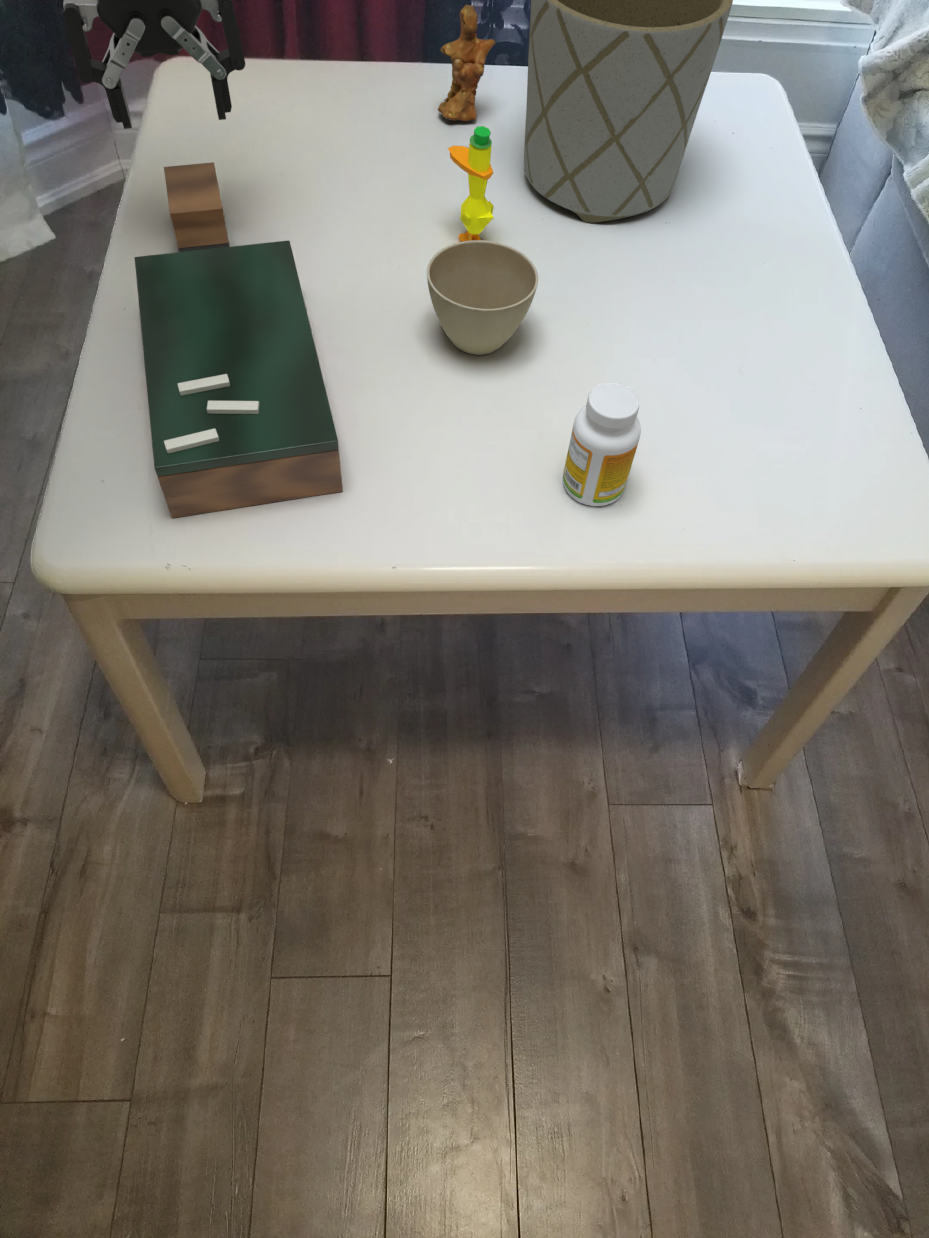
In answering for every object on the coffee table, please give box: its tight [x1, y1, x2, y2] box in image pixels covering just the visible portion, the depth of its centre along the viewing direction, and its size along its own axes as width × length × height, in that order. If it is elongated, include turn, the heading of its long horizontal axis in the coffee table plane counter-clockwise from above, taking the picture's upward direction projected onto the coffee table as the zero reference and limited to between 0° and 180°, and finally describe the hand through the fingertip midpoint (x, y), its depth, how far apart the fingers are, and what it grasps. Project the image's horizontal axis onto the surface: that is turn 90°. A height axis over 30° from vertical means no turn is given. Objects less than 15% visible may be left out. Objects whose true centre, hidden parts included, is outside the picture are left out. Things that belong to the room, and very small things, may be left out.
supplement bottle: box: [562, 382, 642, 507], centre depth 74 cm, size 5×5×10 cm
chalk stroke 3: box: [207, 401, 260, 414], centre depth 72 cm, size 4×1×1 cm, turn 92°
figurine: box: [437, 4, 496, 122], centre depth 104 cm, size 5×6×12 cm
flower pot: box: [426, 239, 539, 356], centre depth 85 cm, size 10×10×7 cm
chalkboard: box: [134, 239, 344, 519], centre depth 79 cm, size 14×26×6 cm, turn 14°
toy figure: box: [447, 125, 495, 242], centre depth 91 cm, size 7×4×12 cm, turn 42°
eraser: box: [163, 161, 231, 252], centre depth 92 cm, size 8×5×5 cm, turn 14°
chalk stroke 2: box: [164, 428, 219, 454], centre depth 70 cm, size 4×1×1 cm, turn 112°
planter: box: [523, 0, 734, 224], centre depth 95 cm, size 19×19×20 cm
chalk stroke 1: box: [178, 374, 230, 396], centre depth 74 cm, size 4×1×1 cm, turn 109°
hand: (174, 120), depth 85 cm, fingers open, 8 cm apart
